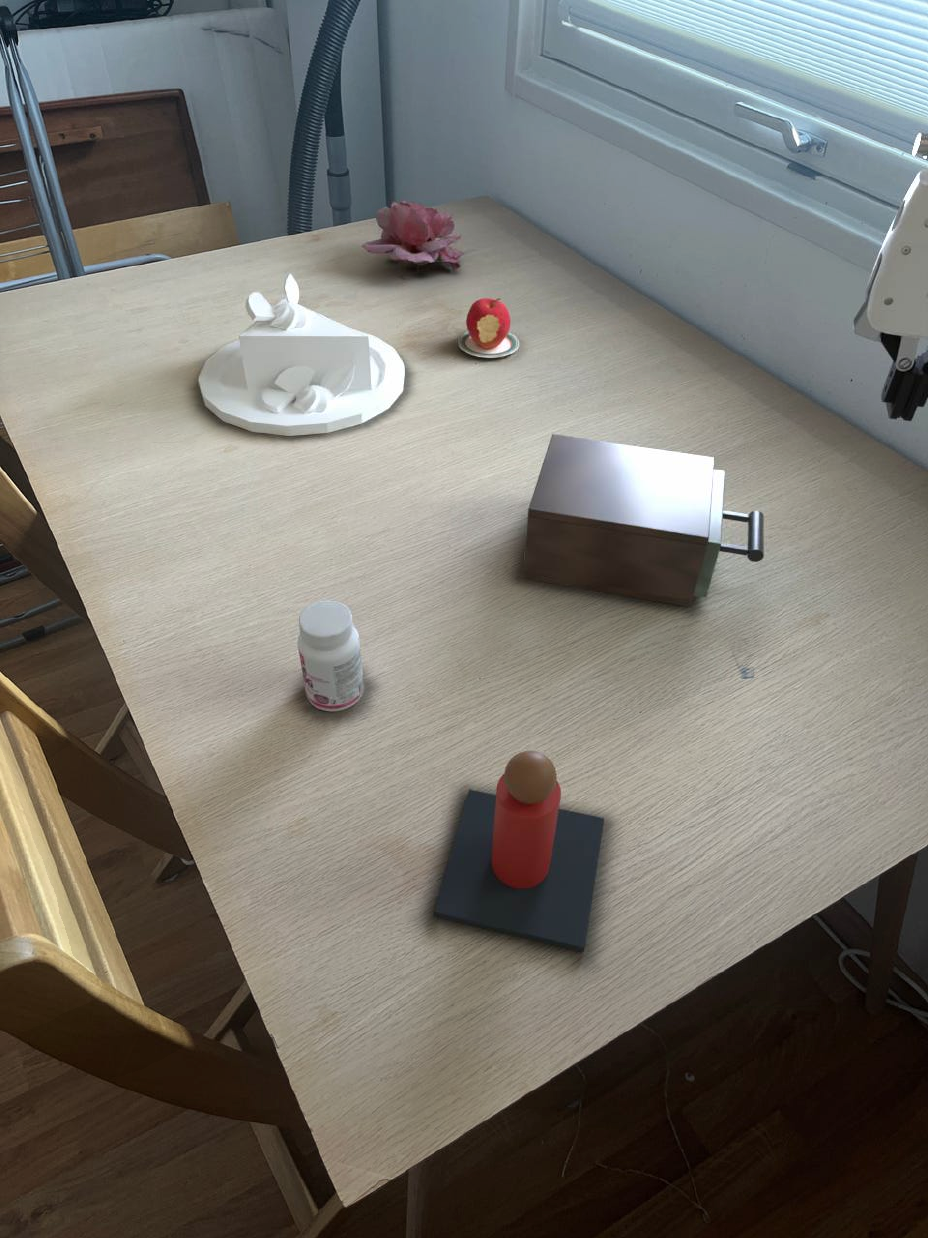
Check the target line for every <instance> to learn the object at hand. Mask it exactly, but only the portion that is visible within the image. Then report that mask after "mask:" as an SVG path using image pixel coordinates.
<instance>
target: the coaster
mask: <svg viewBox="0 0 928 1238" xmlns="http://www.w3.org/2000/svg"><path fill="white" fill-rule="evenodd" d="M495 804H496V794H492V793H488V792H484V791H478V790H474V789H468V792H467V796H466V798H465V802H464V806H463V808H462V812H461V815H460V820H459V823H458V827H457V830H456V833H455V836H454V840H453V843H452V847H451V851H450V854H449V857H448V860H447V865H446V868H445V871H444V875H443V878H442V882H441V885H440V889H439V892H438V896H437V898H436V902H435V906H434V909H433V917H435V918H441V919H445V920H449V921H454V922H457V923H460V924H465V925H469V926H473V927H477V928H481V929H485V930H491V931H494V932H498V933H502V934H506V935H511V936H515V937H519V938H524V939H528V940H532V941H536V942H540V943H545V944H549V945H553V946H556V947H561V948H565V949H568V950H574V951H577V952H583V953H584V952H585V948H586V942H587V935H588V928H589V921H590V915H591V910H592V909H591V908H592V903H593V897H594V889H595V884H596V883H595V882H596V876H597V870H598V863H599V857H600V851H601V849H600V848H601V844H602V843H601V842H602V835H603V829H604V823H605V818H604V817H599V816H596V815H591V814H585V813H581V812H576V811H572V810H567V809H563V808H559V811H558V817H557V823H556V829H555V836H554V842H553V848H552V854H551V861H550V867H549V871H548V874H547V876H546V877H545V879H544V880H543V881H542V882H540V883H539V884H538V885H536V886H534V887H531V888H526V889H518V888H513V887H510V886H508V885H506V884H504V883H503V882H502V881H501V880H500V879H499V878H498V877H497V876H496V875H495V873H494V871H493V868H492V863H491V860H492V845H493V831H494V817H495Z"/></svg>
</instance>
